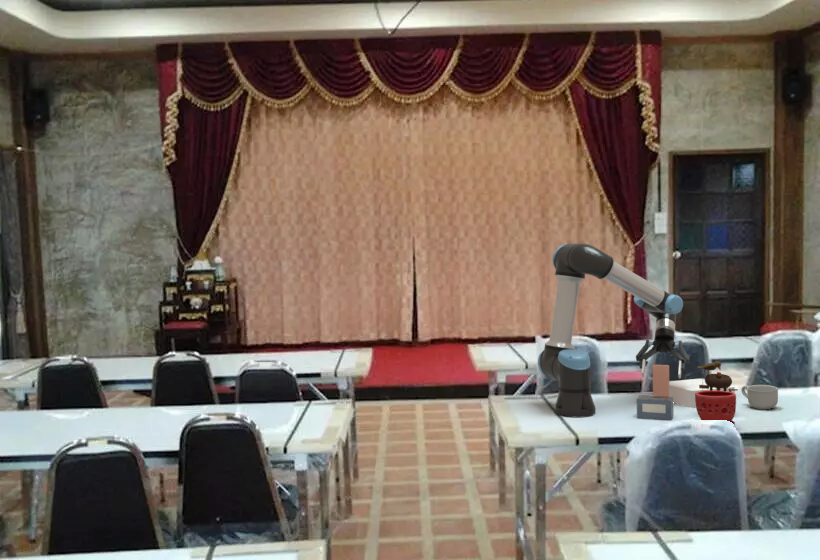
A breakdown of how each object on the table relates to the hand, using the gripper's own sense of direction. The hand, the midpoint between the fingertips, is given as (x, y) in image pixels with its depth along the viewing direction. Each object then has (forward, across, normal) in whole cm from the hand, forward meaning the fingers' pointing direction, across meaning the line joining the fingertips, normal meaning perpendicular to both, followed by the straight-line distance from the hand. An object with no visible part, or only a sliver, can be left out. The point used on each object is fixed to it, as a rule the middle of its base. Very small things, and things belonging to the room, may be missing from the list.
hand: (661, 375), depth 302 cm
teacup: (+2, -35, -15) cm, 38 cm away
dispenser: (+22, 0, +5) cm, 22 cm away
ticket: (+8, 0, -9) cm, 12 cm away
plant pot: (+29, -21, +12) cm, 38 cm away
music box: (+14, -21, -3) cm, 25 cm away
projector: (-2, -12, -20) cm, 23 cm away
